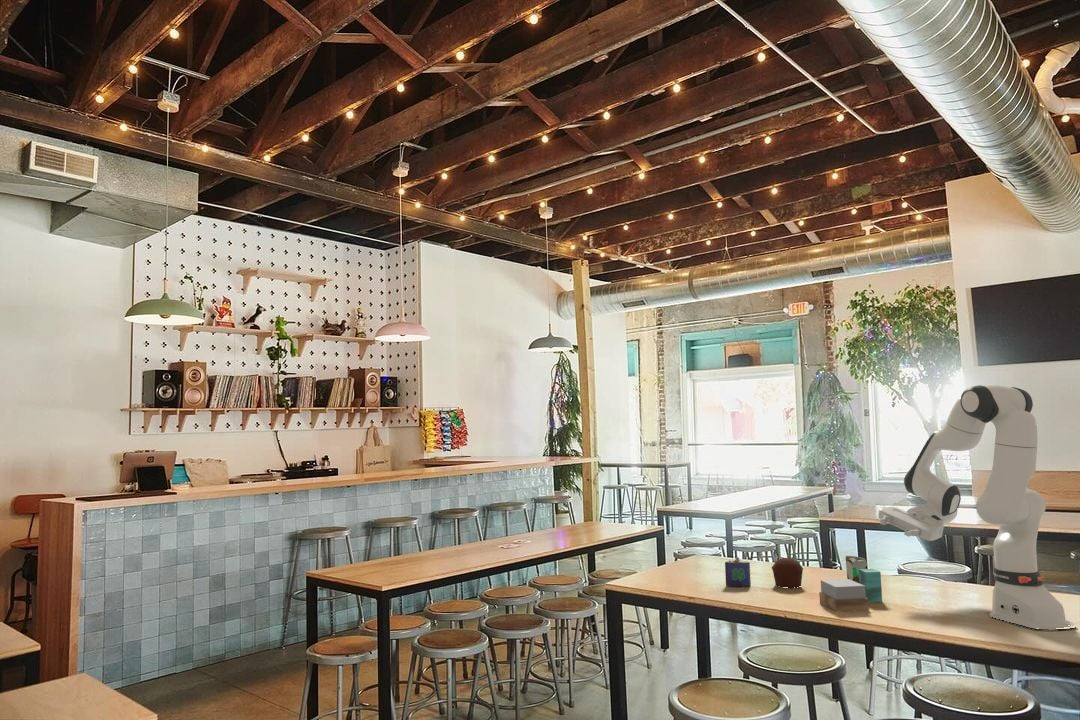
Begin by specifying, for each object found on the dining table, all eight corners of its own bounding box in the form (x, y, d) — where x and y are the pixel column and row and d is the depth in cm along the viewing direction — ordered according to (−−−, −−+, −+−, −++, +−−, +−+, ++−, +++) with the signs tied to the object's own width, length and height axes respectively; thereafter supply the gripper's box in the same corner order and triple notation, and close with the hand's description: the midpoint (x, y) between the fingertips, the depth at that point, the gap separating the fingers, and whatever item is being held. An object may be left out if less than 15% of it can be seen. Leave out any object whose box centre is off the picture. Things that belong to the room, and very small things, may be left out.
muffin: (774, 581, 273) (773, 555, 274) (805, 583, 268) (804, 556, 269) (770, 588, 263) (769, 560, 264) (802, 590, 258) (800, 562, 259)
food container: (872, 590, 256) (870, 562, 257) (854, 590, 258) (852, 561, 258) (864, 582, 268) (862, 555, 269) (846, 582, 270) (845, 555, 270)
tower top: (865, 598, 231) (864, 585, 231) (836, 599, 230) (835, 587, 230) (849, 591, 241) (848, 579, 241) (821, 592, 240) (820, 580, 240)
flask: (749, 585, 268) (748, 556, 269) (751, 587, 265) (750, 557, 266) (725, 585, 268) (723, 556, 269) (726, 587, 266) (725, 558, 266)
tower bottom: (868, 611, 230) (868, 598, 231) (836, 612, 229) (835, 600, 230) (851, 602, 241) (850, 590, 242) (819, 604, 240) (819, 592, 241)
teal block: (882, 602, 240) (880, 571, 241) (868, 602, 240) (866, 572, 241) (874, 598, 245) (872, 568, 246) (860, 599, 245) (858, 569, 246)
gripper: (894, 499, 258) (868, 507, 251) (948, 522, 240) (922, 531, 234) (892, 515, 259) (866, 524, 253) (945, 539, 242) (919, 549, 235)
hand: (893, 527), depth 243 cm, fingers open, 8 cm apart
